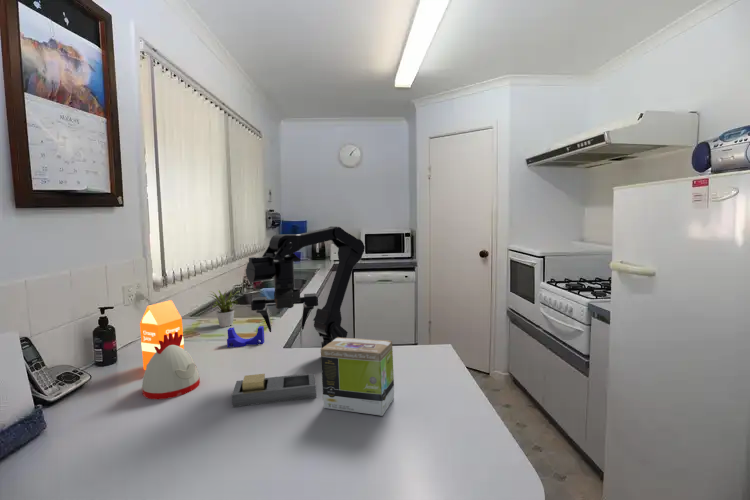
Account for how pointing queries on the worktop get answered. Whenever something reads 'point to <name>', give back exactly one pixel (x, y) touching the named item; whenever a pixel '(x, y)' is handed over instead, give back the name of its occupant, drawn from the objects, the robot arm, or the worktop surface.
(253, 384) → the brass cuboid
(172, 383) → the kitchen timer
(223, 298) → the house plant
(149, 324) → the orange juice
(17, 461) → the worktop surface
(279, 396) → the grey flat block
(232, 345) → the cable clip
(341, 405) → the tea box
